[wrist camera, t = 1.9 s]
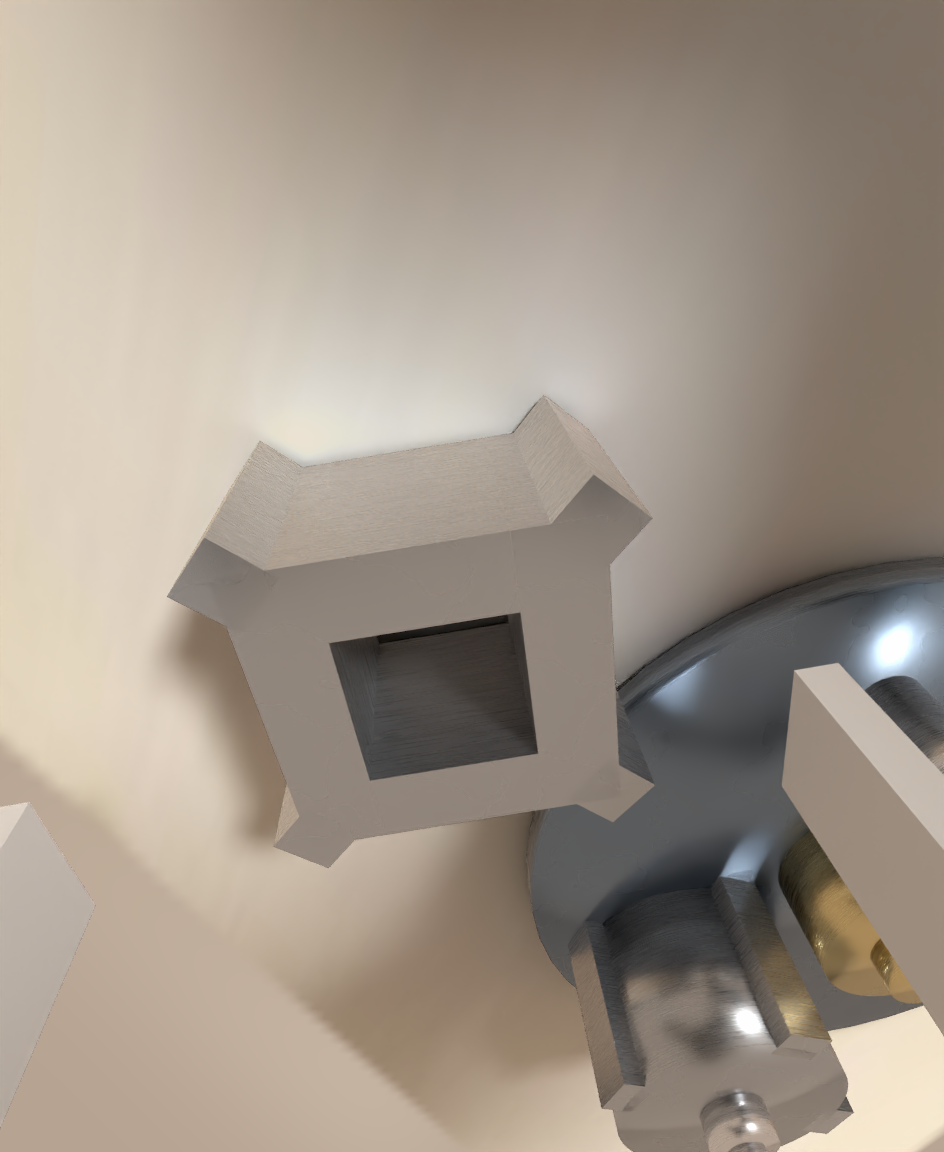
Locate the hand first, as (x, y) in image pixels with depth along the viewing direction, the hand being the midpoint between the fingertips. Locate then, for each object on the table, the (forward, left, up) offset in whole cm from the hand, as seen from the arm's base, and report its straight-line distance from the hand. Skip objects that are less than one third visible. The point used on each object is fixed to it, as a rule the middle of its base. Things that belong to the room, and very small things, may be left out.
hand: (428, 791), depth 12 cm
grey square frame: (0, 0, -7) cm, 7 cm away
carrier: (+5, +17, -7) cm, 19 cm away
